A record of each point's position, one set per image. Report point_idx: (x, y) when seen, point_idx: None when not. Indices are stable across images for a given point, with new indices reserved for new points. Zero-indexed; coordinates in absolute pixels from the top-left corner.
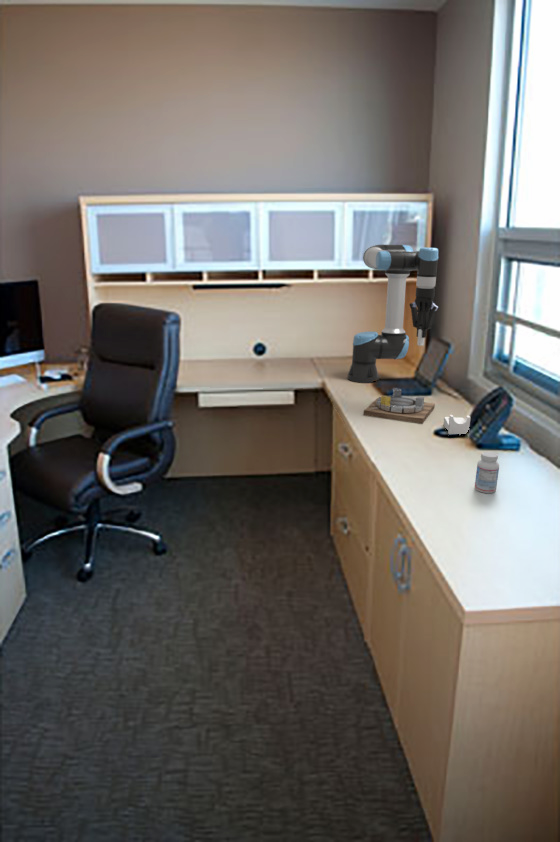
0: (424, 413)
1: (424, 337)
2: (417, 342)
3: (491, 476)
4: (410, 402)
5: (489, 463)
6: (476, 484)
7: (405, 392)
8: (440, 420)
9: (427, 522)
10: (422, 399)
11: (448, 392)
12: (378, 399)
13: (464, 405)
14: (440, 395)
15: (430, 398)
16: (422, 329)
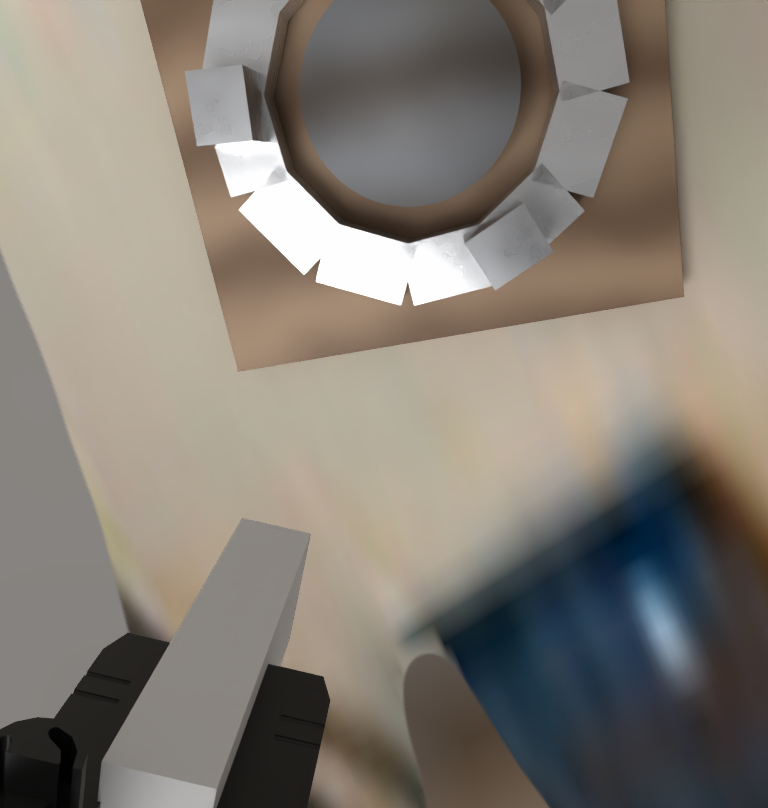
0: (171, 43)
1: (120, 658)
2: (296, 561)
3: None
4: (320, 110)
5: None
6: None
7: (581, 619)
8: (72, 82)
9: None
10: (192, 94)
11: (339, 761)
12: (610, 21)
13: (128, 543)
14: (351, 674)
15: (374, 574)
16: (16, 734)
